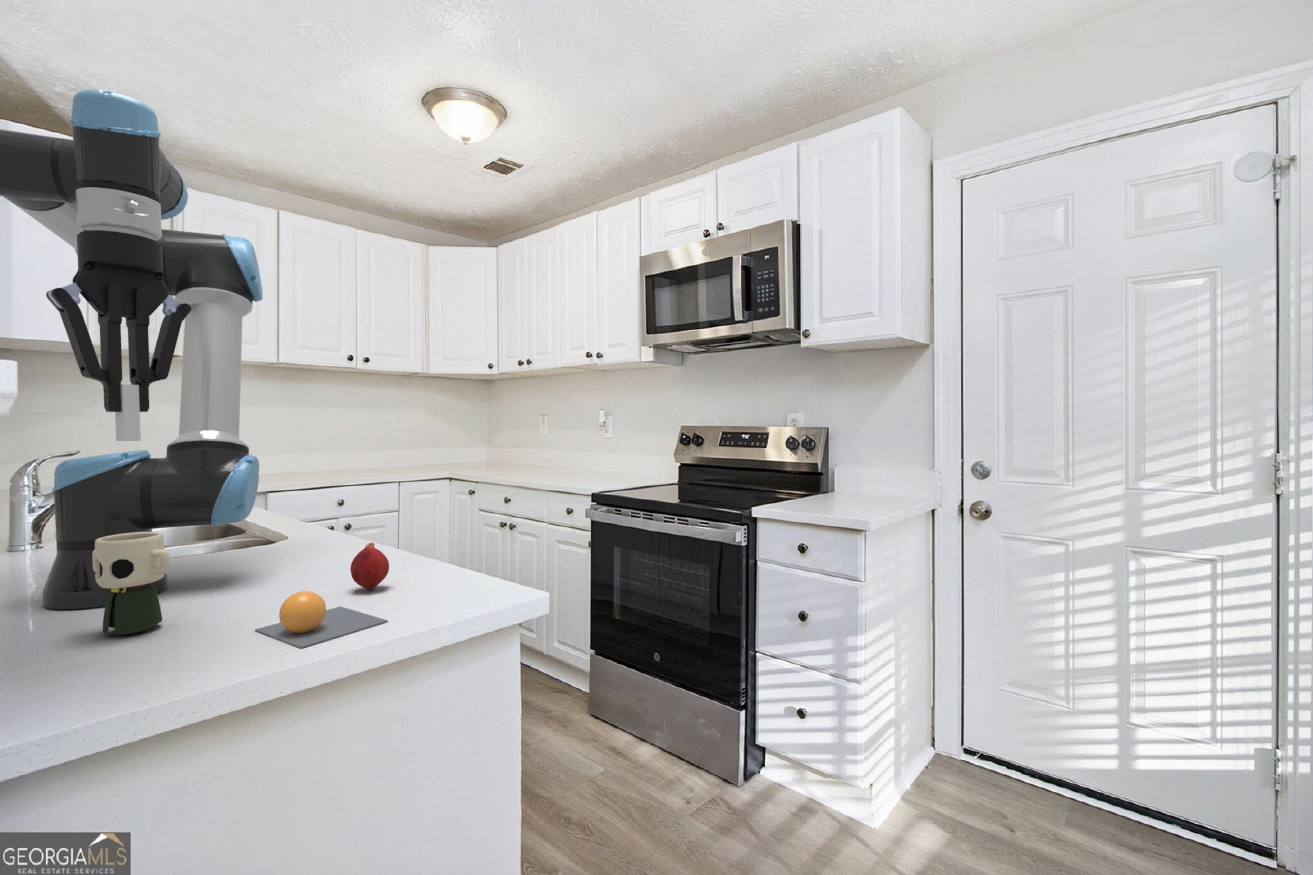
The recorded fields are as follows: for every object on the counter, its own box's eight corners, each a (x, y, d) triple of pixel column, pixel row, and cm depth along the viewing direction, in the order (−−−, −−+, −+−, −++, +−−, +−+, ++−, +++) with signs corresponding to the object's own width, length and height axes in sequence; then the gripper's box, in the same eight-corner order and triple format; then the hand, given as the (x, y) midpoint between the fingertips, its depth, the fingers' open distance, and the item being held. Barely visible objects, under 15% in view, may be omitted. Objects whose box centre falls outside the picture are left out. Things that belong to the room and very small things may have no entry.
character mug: (70, 639, 82) (66, 541, 81) (121, 621, 89) (118, 530, 89) (146, 641, 81) (142, 542, 80) (192, 623, 88) (189, 531, 88)
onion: (374, 596, 101) (373, 547, 101) (343, 594, 102) (341, 545, 102) (396, 586, 107) (395, 539, 106) (366, 584, 108) (365, 538, 107)
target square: (254, 630, 85) (254, 629, 85) (340, 607, 95) (340, 606, 95) (301, 648, 78) (301, 647, 78) (387, 621, 88) (387, 620, 88)
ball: (277, 587, 84) (318, 588, 88) (267, 629, 83) (310, 628, 87) (295, 594, 81) (337, 594, 85) (285, 637, 80) (328, 636, 84)
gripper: (54, 216, 65) (63, 443, 65) (200, 244, 75) (206, 439, 76) (33, 228, 69) (42, 442, 70) (174, 253, 80) (180, 438, 80)
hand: (128, 440), depth 73 cm, fingers closed
